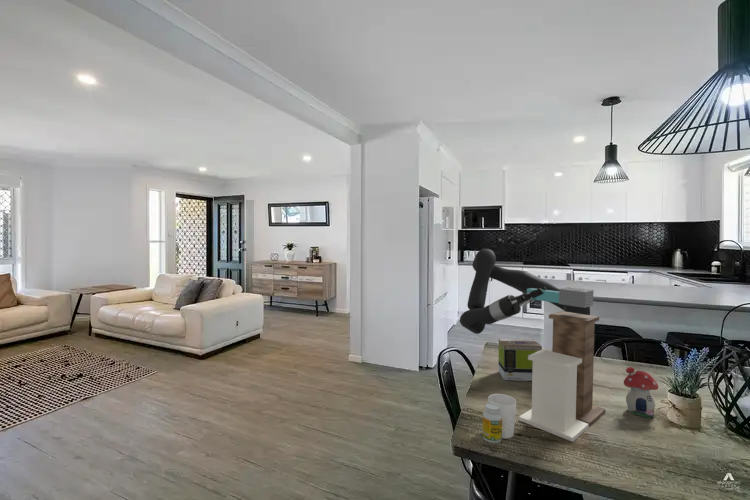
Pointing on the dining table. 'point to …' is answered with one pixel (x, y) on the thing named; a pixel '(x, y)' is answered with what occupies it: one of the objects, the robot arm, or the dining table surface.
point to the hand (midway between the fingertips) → (543, 290)
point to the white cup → (505, 412)
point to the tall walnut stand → (578, 341)
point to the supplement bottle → (492, 423)
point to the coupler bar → (567, 296)
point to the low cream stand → (554, 395)
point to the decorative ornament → (640, 393)
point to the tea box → (516, 358)
